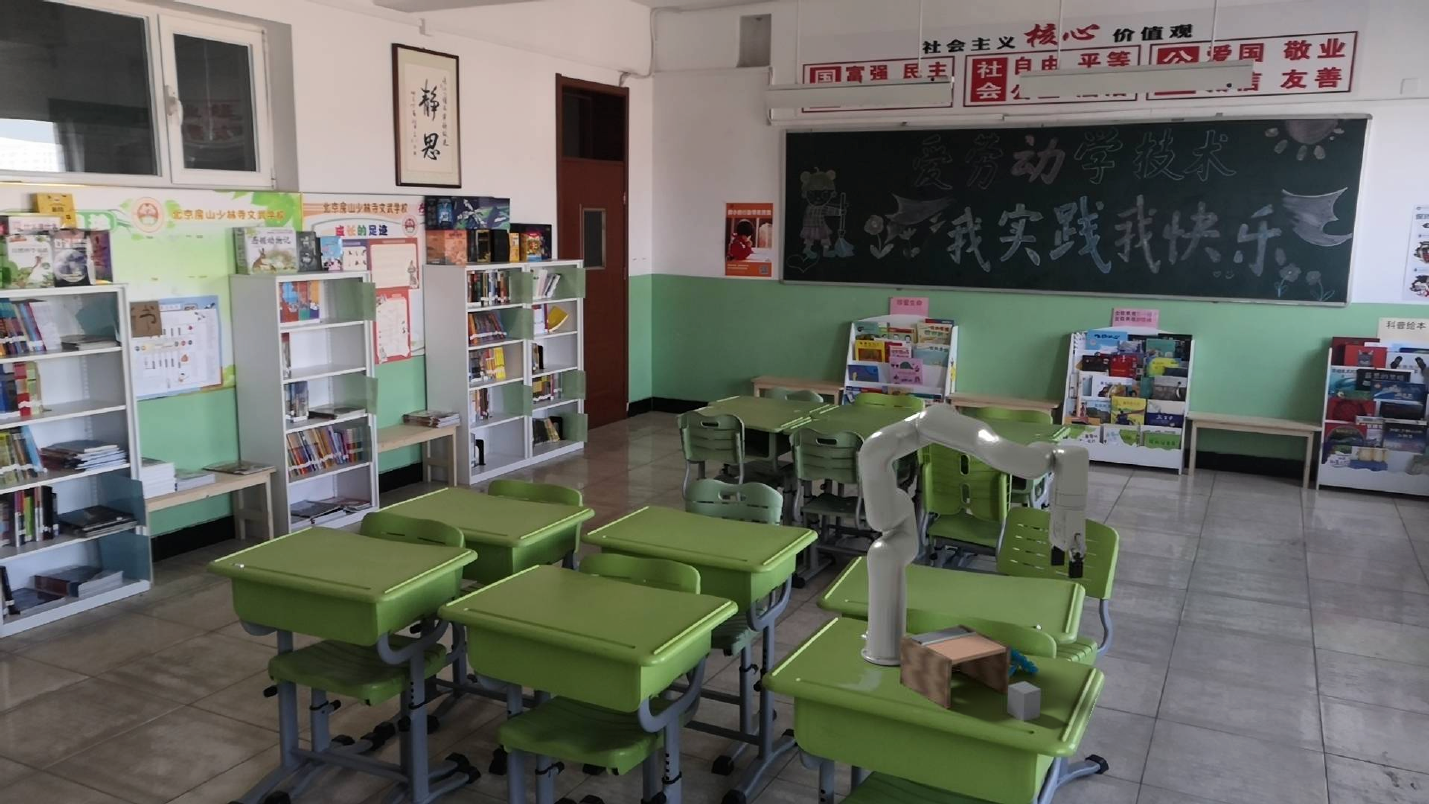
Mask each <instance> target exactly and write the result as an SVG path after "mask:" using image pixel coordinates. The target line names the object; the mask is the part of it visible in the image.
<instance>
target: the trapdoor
mask: <svg viewBox="0 0 1429 804" xmlns="http://www.w3.org/2000/svg"><path fill="white" fill-rule="evenodd" d="M908 638H909V639H911V640H913V641H915V642H917V643H919V644H921V645H923V646H925V647H927V648H929V649H931V650H932V651H934V652H936V653H938V654H940V655H942V656H944V657H946V658H948V659H950V660H952V665H954V664H957V663H960V662H964V661H968V660H973V659H977V658H981V657H985V656H990V655H994V654H998V653H1002V652H1006V647H1004V646H1002V645H999V644H997V643H995V642H993V641H991V640H989V639H986V638H984V637H982V636H980V635H978V634H977V633H976V632H972V633H969V632H967V631H966V630H964V629H962V628H960V627H959V625H958V626H952V627H948V628H941V629H938V630H933V631H928V632H925V633H924V632H923V633H919V634H915V635H909V636H908Z"/></svg>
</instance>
